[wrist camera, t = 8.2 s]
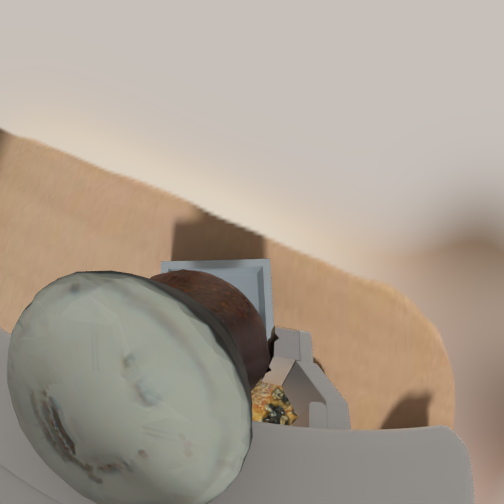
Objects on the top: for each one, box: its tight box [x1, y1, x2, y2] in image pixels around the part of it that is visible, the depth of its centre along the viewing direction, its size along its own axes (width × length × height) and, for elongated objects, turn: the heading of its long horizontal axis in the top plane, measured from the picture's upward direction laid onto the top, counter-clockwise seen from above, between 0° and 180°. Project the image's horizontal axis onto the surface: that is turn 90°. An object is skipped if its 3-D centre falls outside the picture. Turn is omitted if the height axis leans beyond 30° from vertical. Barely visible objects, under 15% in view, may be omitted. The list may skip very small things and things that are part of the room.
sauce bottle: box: [7, 269, 271, 504], centre depth 13 cm, size 7×6×20 cm
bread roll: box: [251, 379, 298, 426], centre depth 32 cm, size 11×11×5 cm
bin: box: [161, 259, 274, 341], centre depth 32 cm, size 12×12×6 cm
